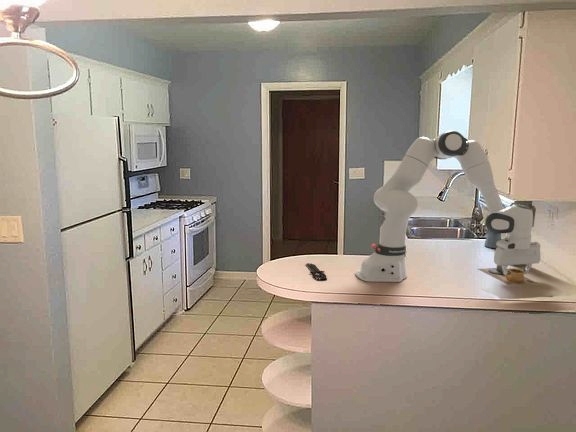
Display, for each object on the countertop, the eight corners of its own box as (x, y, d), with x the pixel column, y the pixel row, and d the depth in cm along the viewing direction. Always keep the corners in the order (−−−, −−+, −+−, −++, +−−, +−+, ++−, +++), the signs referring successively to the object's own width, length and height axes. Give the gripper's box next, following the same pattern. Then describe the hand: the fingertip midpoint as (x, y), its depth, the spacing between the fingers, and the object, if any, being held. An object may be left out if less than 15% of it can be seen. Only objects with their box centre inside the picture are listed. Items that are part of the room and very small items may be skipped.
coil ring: (513, 282, 202) (513, 273, 201) (503, 277, 209) (504, 268, 208) (526, 281, 204) (527, 272, 203) (516, 276, 210) (517, 268, 209)
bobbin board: (507, 287, 200) (509, 270, 199) (477, 272, 221) (478, 256, 220) (537, 285, 203) (538, 268, 201) (504, 270, 224) (505, 255, 223)
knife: (304, 264, 231) (304, 261, 231) (318, 264, 232) (318, 261, 232) (313, 281, 206) (313, 278, 206) (328, 281, 206) (328, 278, 206)
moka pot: (495, 243, 276) (499, 209, 272) (508, 250, 260) (512, 214, 257) (479, 243, 275) (482, 209, 271) (491, 250, 260) (494, 214, 256)
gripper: (535, 239, 208) (532, 270, 211) (493, 241, 204) (490, 273, 207) (545, 243, 202) (542, 274, 205) (502, 245, 198) (499, 277, 201)
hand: (515, 274), depth 206 cm, fingers open, 8 cm apart
